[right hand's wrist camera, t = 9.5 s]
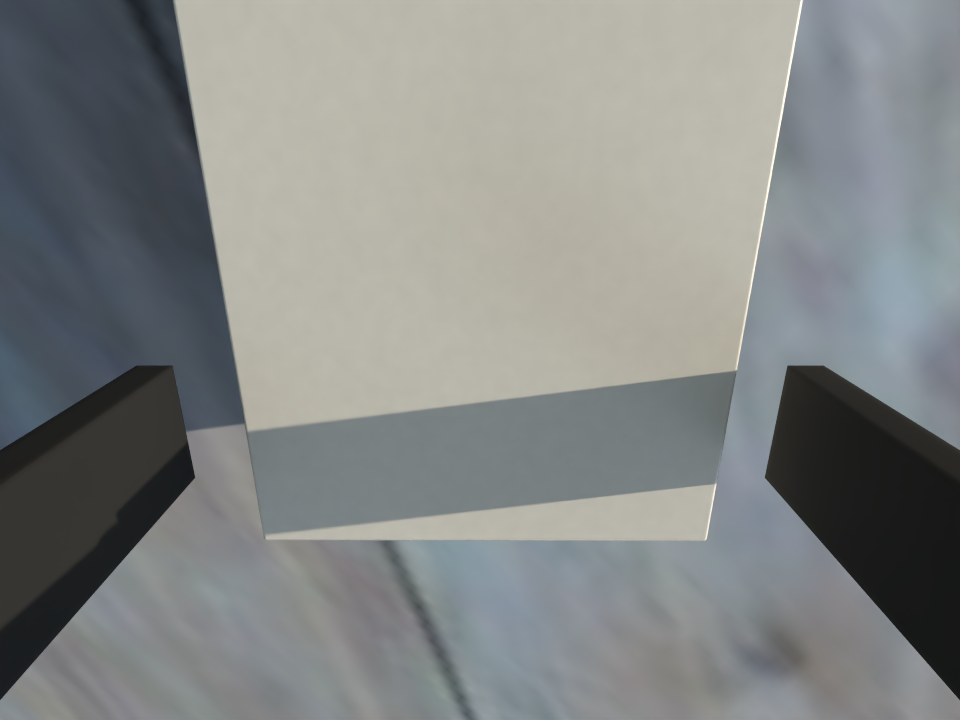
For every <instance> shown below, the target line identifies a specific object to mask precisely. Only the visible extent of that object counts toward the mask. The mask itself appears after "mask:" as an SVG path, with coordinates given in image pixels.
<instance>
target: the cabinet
mask: <svg viewBox="0 0 960 720" xmlns="http://www.w3.org/2000/svg"><path fill="white" fill-rule="evenodd" d="M802 1H803V0H173V4H174V10H175V16H176V22H177V28H178V33H179V39H180V45H181V51H182V57H183V63H184V69H185V75H186V81H187V86H188V92H189V98H190V104H191V110H192V116H193V122H194V128H195V134H196V140H197V145H198V151H199V157H200V163H201V169H202V175H203V181H204V187H205V193H206V198H207V204H208V210H209V216H210V222H211V228H212V234H213V240H214V246H215V252H216V257H217V263H218V269H219V275H220V281H221V287H222V293H223V299H224V305H225V310H226V316H227V322H228V328H229V334H230V340H231V346H232V352H233V358H234V364H235V369H236V375H237V381H238V387H239V393H240V399H241V405H242V411H243V417H244V422H245V428H246V434H247V440H248V446H249V452H250V458H251V464H252V470H253V476H254V481H255V487H256V493H257V499H258V505H259V511H260V517H261V523H262V529H263V534H264V539H266V540H524V541H705V540H706V539H707V533H708V528H709V522H710V517H711V511H712V505H713V500H714V494H715V489H716V483H717V477H718V472H719V466H720V461H721V455H722V449H723V444H724V438H725V433H726V427H727V421H728V416H729V410H730V405H731V399H732V393H733V388H734V382H735V377H736V371H737V365H738V360H739V354H740V349H741V343H742V337H743V332H744V326H745V321H746V315H747V309H748V304H749V298H750V293H751V287H752V281H753V276H754V270H755V265H756V259H757V253H758V248H759V242H760V237H761V231H762V225H763V220H764V214H765V209H766V203H767V197H768V192H769V186H770V180H771V175H772V169H773V164H774V158H775V152H776V147H777V141H778V136H779V130H780V124H781V119H782V113H783V108H784V102H785V96H786V91H787V85H788V80H789V74H790V68H791V63H792V57H793V52H794V46H795V40H796V35H797V29H798V24H799V18H800V12H801V7H802Z"/></svg>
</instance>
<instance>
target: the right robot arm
mask: <svg viewBox="0 0 960 720" xmlns="http://www.w3.org/2000/svg"><path fill="white" fill-rule="evenodd" d="M194 478H195V475H194V470H193V465H192V460H191V455H190V450H189V445H188V440H187V435H186V430H185V425H184V420H183V416H182V411H181V406H180V401H179V396H178V391H177V386H176V381H175V376H174V371H173V366H135V367H134V368H132V369H130V370H129V371H127V372H126V373H124V374H122V375H121V376H119V377H118V378H116V379H114V380H113V381H111V382H109V383H108V384H106V385H105V386H103V387H101V388H100V389H98V390H97V391H95V392H93V393H92V394H90V395H89V396H87V397H85V398H84V399H82V400H80V401H79V402H77V403H76V404H74V405H72V406H71V407H69V408H68V409H66V410H64V411H63V412H61V413H60V414H58V415H56V416H55V417H53V418H51V419H50V420H48V421H47V422H45V423H43V424H42V425H40V426H39V427H37V428H35V429H34V430H32V431H31V432H29V433H27V434H26V435H24V436H22V437H21V438H19V439H18V440H16V441H14V442H13V443H11V444H10V445H8V446H6V447H5V448H3V449H2V450H0V700H1V698H2V697H3V696H4V695H5V694H6V693H7V692H8V690H9V689H10V688H11V687H12V686H13V685H14V684H15V682H16V681H17V680H18V679H19V678H20V677H21V676H22V675H23V673H24V672H25V671H26V670H27V669H28V668H29V667H30V665H31V664H32V663H33V662H34V661H35V660H36V659H37V657H38V656H39V655H40V654H41V653H42V652H43V651H44V649H45V648H46V647H47V646H48V645H49V644H50V643H51V641H52V640H53V639H54V638H55V637H56V636H57V635H58V633H59V632H60V631H61V630H62V629H63V628H64V627H65V625H66V624H67V623H68V622H69V621H70V620H71V619H72V617H73V616H74V615H75V614H76V613H77V612H78V611H79V609H80V608H81V607H82V606H83V605H84V604H85V603H86V601H87V600H88V599H89V598H90V597H91V596H92V595H93V593H94V592H95V591H96V590H97V589H98V588H99V587H100V586H101V584H102V583H103V582H104V581H105V580H106V579H107V578H108V576H109V575H110V574H111V573H112V572H113V571H114V570H115V568H116V567H117V566H118V565H119V564H120V563H121V562H122V560H123V559H124V558H125V557H126V556H127V555H128V554H129V552H130V551H131V550H132V549H133V548H134V547H135V546H136V544H137V543H138V542H139V541H140V540H141V539H142V538H143V536H144V535H145V534H146V533H147V532H148V531H149V530H150V528H151V527H152V526H153V525H154V524H155V523H156V522H157V520H158V519H159V518H160V517H161V516H162V515H163V514H164V512H165V511H166V510H167V509H168V508H169V507H170V506H171V504H172V503H173V502H174V501H175V500H176V499H177V498H178V496H179V495H180V494H181V493H182V492H183V491H184V490H185V489H186V487H187V486H188V485H189V484H190V483H191V482H192V481H193V479H194ZM765 478H766V479H767V481H768V482H769V483H770V484H771V485H772V486H773V487H774V489H775V490H776V491H777V492H778V493H779V494H780V495H781V496H782V498H783V499H784V500H785V501H786V502H787V503H788V504H789V506H790V507H791V508H792V509H793V510H794V511H795V512H796V514H797V515H798V516H799V517H800V518H801V519H802V520H803V522H804V523H805V524H806V525H807V526H808V527H809V528H810V530H811V531H812V532H813V533H814V534H815V535H816V536H817V538H818V539H819V540H820V541H821V542H822V543H823V544H824V546H825V547H826V548H827V549H828V550H829V551H830V552H831V554H832V555H833V556H834V557H835V558H836V559H837V560H838V562H839V563H840V564H841V565H842V566H843V567H844V568H845V570H846V571H847V572H848V573H849V574H850V575H851V576H852V578H853V579H854V580H855V581H856V582H857V583H858V584H859V586H860V587H861V588H862V589H863V590H864V591H865V592H866V593H867V595H868V596H869V597H870V598H871V599H872V600H873V601H874V603H875V604H876V605H877V606H878V607H879V608H880V609H881V611H882V612H883V613H884V614H885V615H886V616H887V617H888V619H889V620H890V621H891V622H892V623H893V624H894V625H895V627H896V628H897V629H898V630H899V631H900V632H901V633H902V635H903V636H904V637H905V638H906V639H907V640H908V641H909V643H910V644H911V645H912V646H913V647H914V648H915V649H916V651H917V652H918V653H919V654H920V655H921V656H922V657H923V659H924V660H925V661H926V662H927V663H928V664H929V665H930V667H931V668H932V669H933V670H934V671H935V672H936V673H937V675H938V676H939V677H940V678H941V679H942V680H943V681H944V682H945V684H946V685H947V686H948V687H949V688H950V689H951V690H952V692H953V693H954V694H955V695H956V696H957V697H958V698H959V700H960V450H958V449H957V448H955V447H954V446H952V445H950V444H949V443H947V442H946V441H944V440H942V439H941V438H939V437H938V436H936V435H934V434H933V433H931V432H929V431H928V430H926V429H925V428H923V427H921V426H920V425H918V424H917V423H915V422H913V421H912V420H910V419H909V418H907V417H905V416H904V415H902V414H900V413H899V412H897V411H896V410H894V409H892V408H891V407H889V406H888V405H886V404H884V403H883V402H881V401H880V400H878V399H876V398H875V397H873V396H871V395H870V394H868V393H867V392H865V391H863V390H862V389H860V388H859V387H857V386H855V385H854V384H852V383H851V382H849V381H847V380H846V379H844V378H842V377H841V376H839V375H838V374H836V373H834V372H833V371H831V370H830V369H828V368H826V367H825V366H787V371H786V376H785V381H784V386H783V391H782V396H781V401H780V406H779V411H778V416H777V420H776V425H775V430H774V435H773V440H772V445H771V450H770V455H769V460H768V465H767V470H766V475H765Z"/></svg>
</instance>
